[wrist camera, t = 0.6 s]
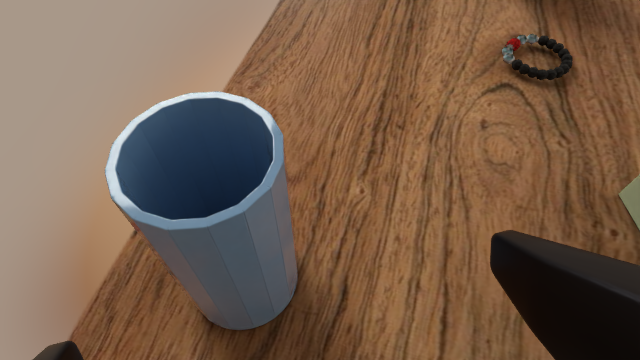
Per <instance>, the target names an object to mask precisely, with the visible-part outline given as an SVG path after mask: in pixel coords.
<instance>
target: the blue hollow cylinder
mask: <svg viewBox="0 0 640 360" xmlns="http://www.w3.org/2000/svg"><path fill="white" fill-rule="evenodd" d="M105 176H106V180H107V184H108V188H109V191H110V196H111V199H112V200H113V201H114V203H115V204H116V205H117V207H118V208H119V209H120V210H121V212H122V213H123V214H124V216H125V217H126V218H127V219H128V221H129V222H130V223H131V225H132V226H133V227H134V228H135V230H136V231H137V232H138V234H139V235H140V236H141V237H142V239H143V240H144V241H145V243H146V244H147V245H148V246H149V248H150V249H151V250H152V252H153V253H154V254H155V255H156V257H157V258H158V259H159V260H160V262H161V263H162V264H163V266H164V267H165V268H166V269H167V271H168V272H169V273H170V275H171V276H172V277H173V278H174V280H175V281H176V282H177V284H178V285H179V286H180V287H181V289H182V290H183V291H184V293H185V294H186V295H187V296H188V298H189V299H190V300H191V302H192V303H193V304H194V305H195V307H196V308H197V309H198V310H199V311H200V312H201V313H202V314H203V315H204V316H205V317H206V318H207V319H208V320H209V321H211V322H213V323H214V324H216V325H218V326H220V327H223V328H227V329H233V330H246V329H252V328H255V327H259V326H261V325H264V324H266V323H267V322H269V321H271V320H273V319H274V318H275V317H276V316H278V315H279V314H280V313H281V312H282V311H283V310H284V309H285V307H286V306H287V305H288V304H289V302H290V300H291V299H292V297H293V294H294V292H295V289H296V286H297V280H298V269H297V255H296V246H295V237H294V228H293V219H292V210H291V201H290V193H289V184H288V175H287V166H286V157H285V148H284V139H283V134H282V132H281V131H280V129H279V127H278V126H277V124H276V122H275V121H274V119H273V117H272V116H271V114H270V113H269V112H268V111H266V110H265V109H263V108H262V107H260V106H259V105H257V104H256V103H254V102H253V101H251V100H250V99H247V98H245V97H241V96H236V95H232V94H228V93H224V92H200V93H189V94H184V95H181V96H178V97H175V98H172V99H169V100H166V101H163V102H160V103H158V104H156V105H154V106H153V107H151V108H150V109H148V110H147V111H145V112H143V113H142V114H140V115H139V116H137V117H136V118H134V119H133V120H132V121H130V123H129V124H128V125H127V127H126V128H125V129H124V130H123V131H122V133H121V134H120V135H119V137H118V138H117V139H116V140H115V142H114V143H113V145H112V147H111V150H110V154H109V158H108V161H107V165H106V169H105Z"/></svg>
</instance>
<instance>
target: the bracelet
mask: <svg viewBox="0 0 640 360" xmlns="http://www.w3.org/2000/svg"><path fill="white" fill-rule="evenodd" d="M525 42H528V43H530V44H533V43H534V42H538V43H539V45H541V46H544V45H546V47H547V48H548V49H553V52H555V53H558V56H559V58H561V62H562V63H561V64H560V66H559V67H556V68H555V69H554V70H552V69H550V70H538V69H537V68H536V67H531V68H530V67H529V65H527V64H523V63H522V61H521V60H519V59H518V60H515V61H514V55H513V51H515V50H517V49H518V48H519V47H520V45H521V44H522V45H523V44H524V43H525ZM563 48H564V46H563V44H561V43H558V44H557V42H556V40H554V39H550V40H549V38H548V36H541V37H540V38H538V37H537V35H534V34H530V35H529V36H527V37H526V36H525V35H519V37H518V38H517V39H516V38H512V39H511V40H509V41H508V42H507V44H506V47H504V48H503V49H502V54H503V56H504V60H503V61H504V62H506V63H507V64H508V63H509V64H512V68H513V69H514V70H519V72H520V74H527V75H528V76H529V77H531V78H534V77H537V79H539V80H543V79H548V80H553V79H554V78H555V77H556V78H559V77H561V76H562V75H563V74H566V73H567V72H569V69H570V68H571V66H572V56H571V55H570V53H569V51H568V50H567V49H563Z"/></svg>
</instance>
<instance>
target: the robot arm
mask: <svg viewBox="0 0 640 360" xmlns="http://www.w3.org/2000/svg"><path fill="white" fill-rule="evenodd" d="M490 266H491V270H492V272H493V274H494V276H495V278H496V279H497V281H498V282H499V283H500V285H501V286H502V288H503V289H504V291H505V292H506V294H507V295H508V297H509V298H510V300H511V301H512V303H513V304H514V306H515V307H516V309H517V310H518V312H519V313H520V315H521V316H522V318H523V319H524V321H525V322H526V324H527V325H528V326H529V328H530V329H531V330H532V332H533V333H534V334H535V336H536V337H537V338H538V339H539V341H540V342H541V343H542V344H543V345H544V347H545V348H546V349H547V350H548V351H549V353H550V354H551V355H552V356H553V358H554V359H555V360H640V266H639V265H636V264H632V263H628V262H625V261H621V260H618V259H614V258H610V257H607V256H603V255H600V254H596V253H592V252H589V251H585V250H582V249H578V248H574V247H571V246H567V245H564V244H560V243H556V242H553V241H549V240H546V239H542V238H538V237H535V236H531V235H528V234H524V233H520V232H517V231H513V230H507V231H503V232H499V233H495V234H494V235H493V236H492V238H491V256H490ZM33 360H84V359H83V357H82V355H81V353H80V351H79V349H78V347H77V346H76V344H75V343H74V342H72V341H65V342H62V343H57V344H53V345H50V346H48V347H47V348H45V349H44V350H43V351H42V352H41V353H40V354H38V355H37V356H36V357H35V358H34V359H33Z"/></svg>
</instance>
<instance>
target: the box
mask: <svg viewBox="0 0 640 360" xmlns="http://www.w3.org/2000/svg"><path fill="white" fill-rule="evenodd" d="M619 196H620V198H621V200H622V201H623V203H624V205H625V206H626V208H627V210H628V211H629V213H630V215H631V216H632V218H633V220H634V222H635V223H636V225H637V227H638V228H639V230H640V175H638V176H637V177H636V178H635V179H634V180H633V181H632V182H631V183H630V184H629V185H628V186H626V187H625V188H624V189H623V190H622V191H621V192H620V193H619Z"/></svg>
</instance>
